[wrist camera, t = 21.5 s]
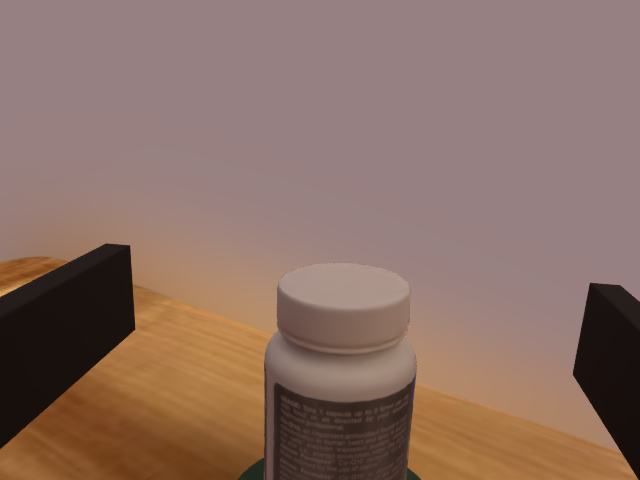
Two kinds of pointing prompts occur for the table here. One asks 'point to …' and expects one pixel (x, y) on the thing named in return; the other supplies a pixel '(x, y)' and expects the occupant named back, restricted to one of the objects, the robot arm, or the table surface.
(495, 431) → the table surface
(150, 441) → the table surface
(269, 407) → the pill bottle
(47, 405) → the robot arm
